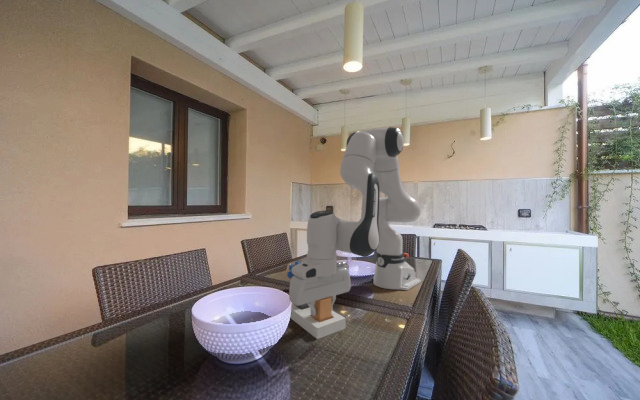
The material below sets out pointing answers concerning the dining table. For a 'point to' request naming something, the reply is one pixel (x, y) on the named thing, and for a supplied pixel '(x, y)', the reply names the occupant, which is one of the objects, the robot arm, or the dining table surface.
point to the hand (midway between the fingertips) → (321, 312)
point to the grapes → (291, 270)
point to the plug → (323, 309)
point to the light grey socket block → (316, 327)
